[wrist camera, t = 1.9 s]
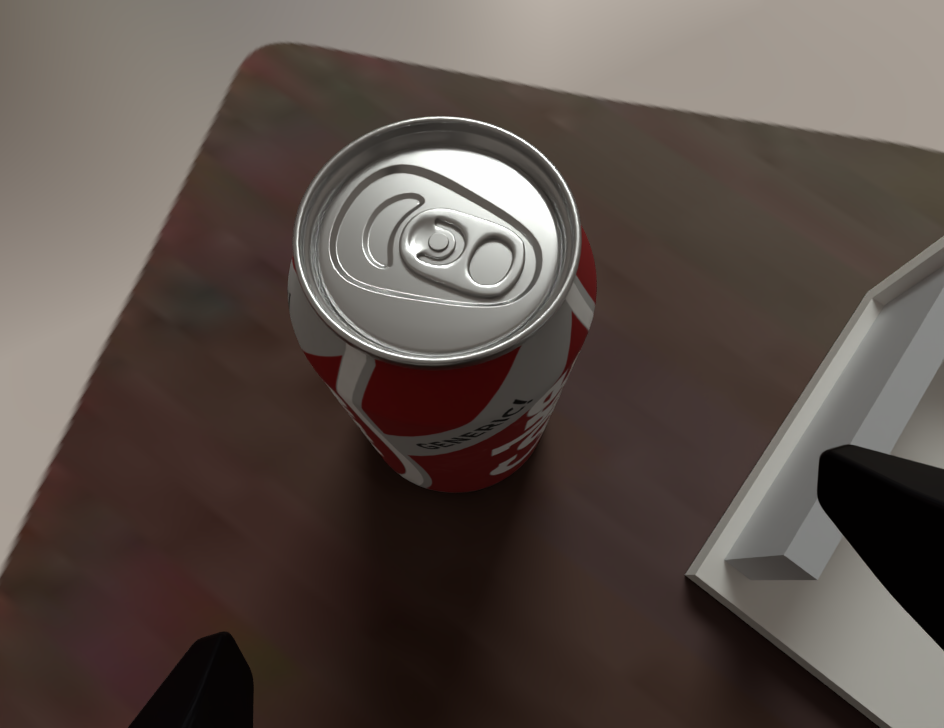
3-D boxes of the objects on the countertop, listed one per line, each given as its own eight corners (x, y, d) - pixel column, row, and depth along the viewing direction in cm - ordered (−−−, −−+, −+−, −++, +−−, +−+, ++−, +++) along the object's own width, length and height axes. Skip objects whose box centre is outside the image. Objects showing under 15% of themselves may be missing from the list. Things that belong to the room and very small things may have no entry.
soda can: (412, 302, 24) (355, 54, 13) (569, 360, 23) (659, 149, 12) (337, 454, 22) (188, 318, 10) (507, 525, 21) (544, 460, 10)
